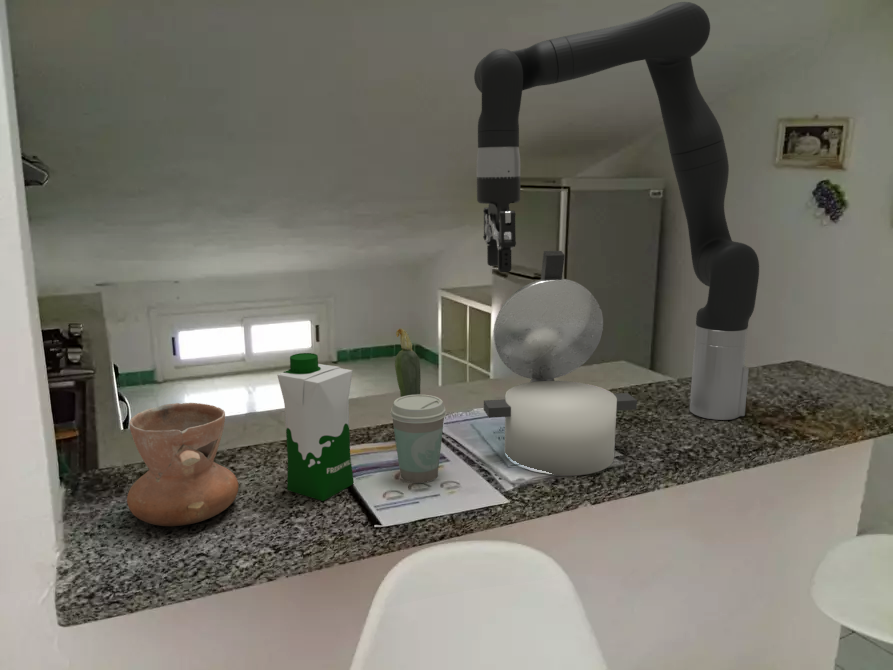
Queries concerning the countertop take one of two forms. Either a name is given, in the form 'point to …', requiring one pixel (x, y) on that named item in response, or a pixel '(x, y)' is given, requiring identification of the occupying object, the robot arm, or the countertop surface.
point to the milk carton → (317, 426)
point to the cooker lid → (548, 325)
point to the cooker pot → (560, 425)
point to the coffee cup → (418, 436)
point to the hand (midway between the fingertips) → (498, 268)
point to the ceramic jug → (180, 465)
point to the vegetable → (407, 367)
